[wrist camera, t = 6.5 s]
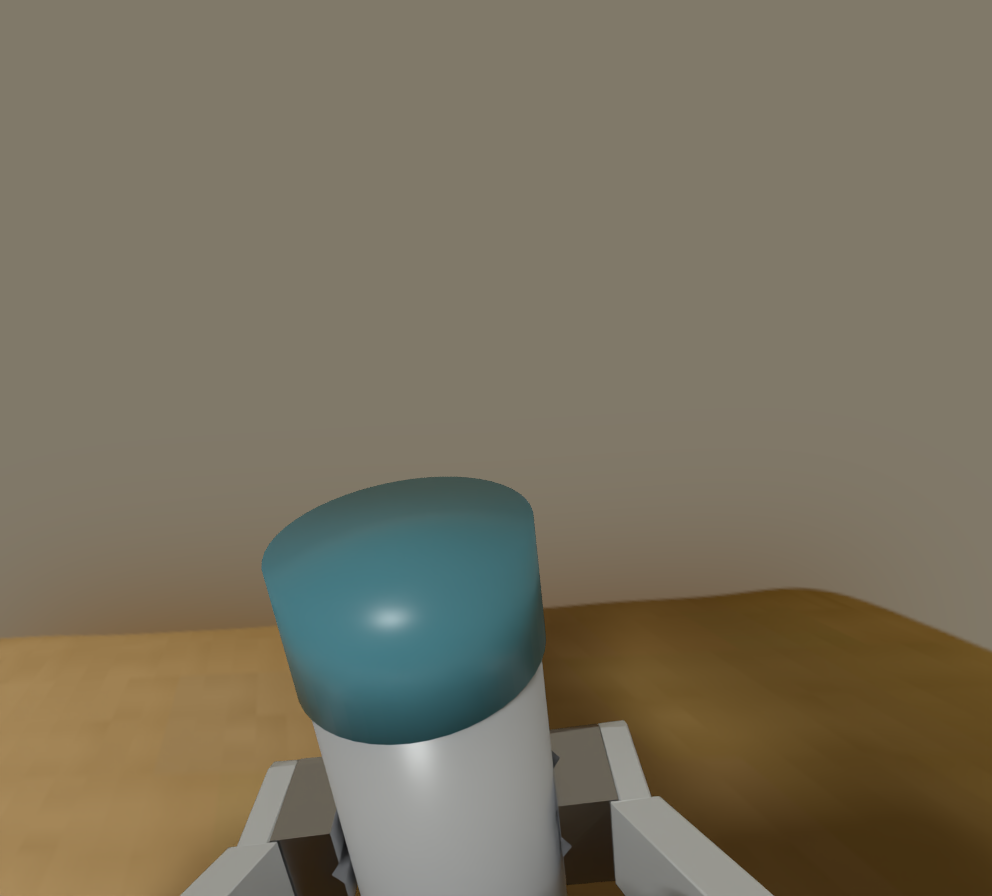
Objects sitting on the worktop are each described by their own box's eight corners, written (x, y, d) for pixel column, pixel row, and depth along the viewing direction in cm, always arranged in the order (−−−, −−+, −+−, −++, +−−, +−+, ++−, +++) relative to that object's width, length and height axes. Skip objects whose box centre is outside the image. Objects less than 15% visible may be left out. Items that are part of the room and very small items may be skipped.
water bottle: (395, 1187, 10) (211, 624, 6) (415, 944, 14) (306, 492, 10) (605, 1162, 10) (549, 584, 6) (571, 925, 14) (522, 465, 10)
